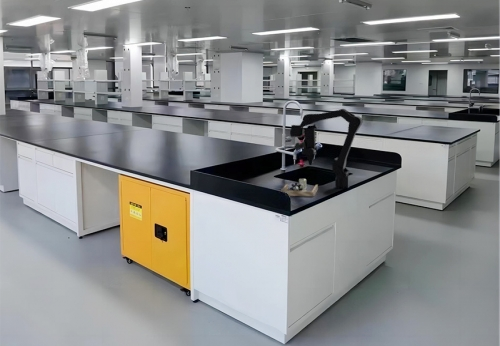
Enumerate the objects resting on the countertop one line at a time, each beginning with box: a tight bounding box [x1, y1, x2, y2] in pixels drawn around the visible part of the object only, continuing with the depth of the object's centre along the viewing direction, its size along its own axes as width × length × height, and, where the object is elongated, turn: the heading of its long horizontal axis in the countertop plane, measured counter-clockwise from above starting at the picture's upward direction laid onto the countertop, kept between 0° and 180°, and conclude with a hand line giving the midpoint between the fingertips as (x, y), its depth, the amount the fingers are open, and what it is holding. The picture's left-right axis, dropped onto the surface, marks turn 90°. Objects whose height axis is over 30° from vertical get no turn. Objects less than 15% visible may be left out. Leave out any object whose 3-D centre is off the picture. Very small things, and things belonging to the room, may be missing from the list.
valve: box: [289, 178, 308, 191], centre depth 224 cm, size 7×7×12 cm
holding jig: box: [279, 183, 319, 197], centre depth 225 cm, size 17×16×2 cm
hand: (310, 165), depth 238 cm, fingers closed
